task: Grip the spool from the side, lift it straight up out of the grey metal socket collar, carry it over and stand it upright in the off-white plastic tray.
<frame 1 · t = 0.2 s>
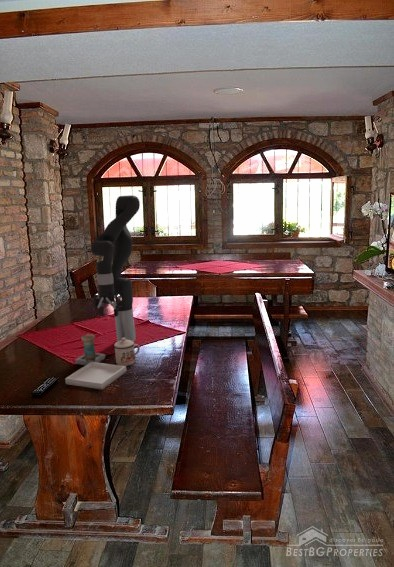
hand: (108, 315, 217), 18 cm above the table, tool pointing down, fingers open, 8 cm apart
socket: (90, 360, 209), on the table
teacup with lid: (128, 362, 206), on the table
spool: (89, 348, 208), in the socket
tray: (96, 377, 190), on the table
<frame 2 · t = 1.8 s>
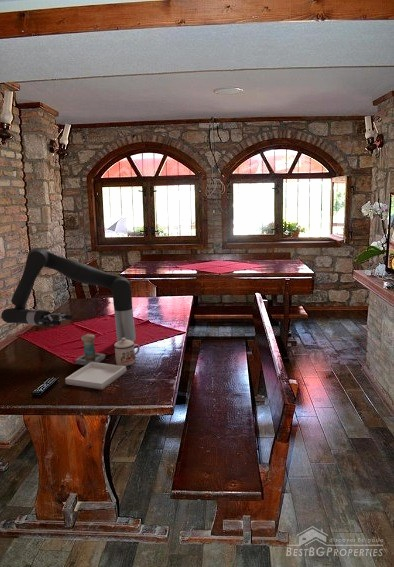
hand: (66, 320, 209), 19 cm above the table, tool horizontal, fingers open, 8 cm apart
nothing on the table moved.
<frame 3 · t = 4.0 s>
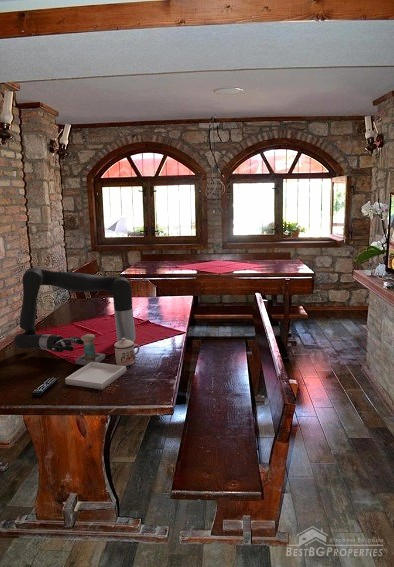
hand: (78, 345, 210), 7 cm above the table, tool horizontal, fingers open, 8 cm apart
nothing on the table moved.
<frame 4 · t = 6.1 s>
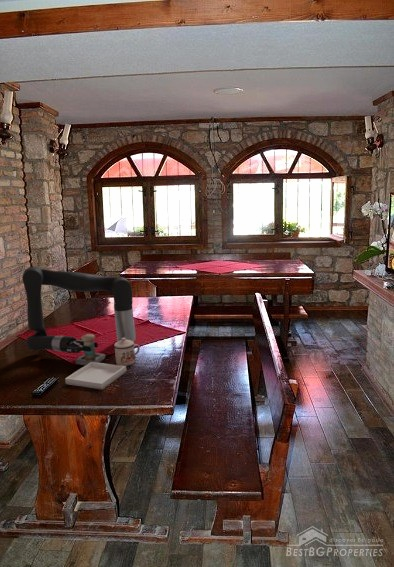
hand: (93, 347, 207), 7 cm above the table, tool horizontal, fingers closed on spool, 4 cm apart
spool: (89, 348, 208), in the socket, touching gripper
everything else where it was.
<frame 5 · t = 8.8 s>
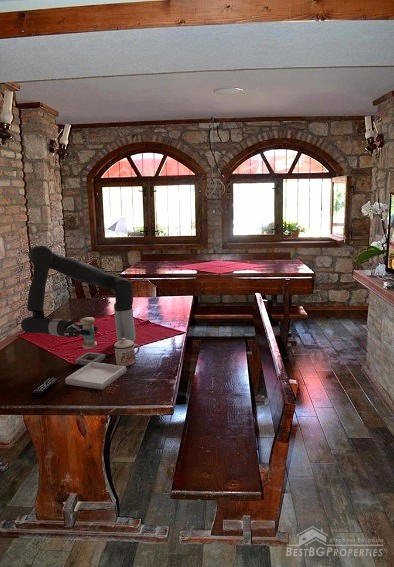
hand: (93, 331, 191), 19 cm above the table, tool horizontal, fingers closed on spool, 4 cm apart
spool: (88, 332, 193), point 18 cm above the table, touching gripper
everything else where it was.
when the fingers open (9 cm above the table, at t = 11.5 s): spool drops 2 cm, resting on tray.
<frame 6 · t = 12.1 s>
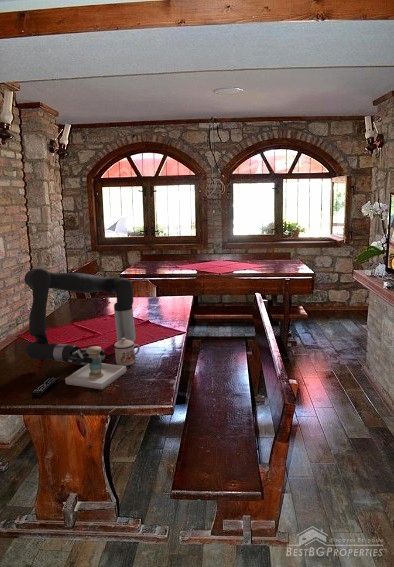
hand: (98, 356, 188), 10 cm above the table, tool horizontal, fingers open, 8 cm apart
spool: (95, 362, 189), in the tray, point 7 cm above the table
everything else where it was.
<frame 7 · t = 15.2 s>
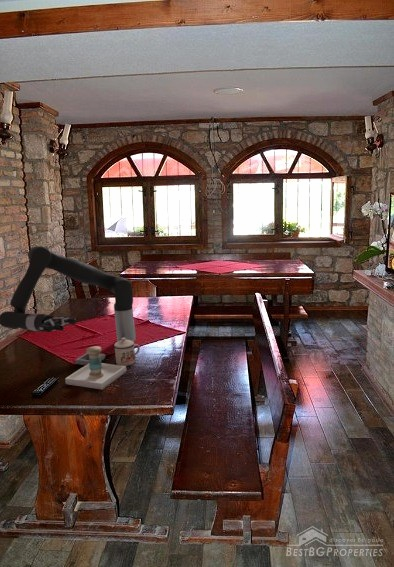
hand: (69, 324, 190), 23 cm above the table, tool horizontal, fingers open, 8 cm apart
nothing on the table moved.
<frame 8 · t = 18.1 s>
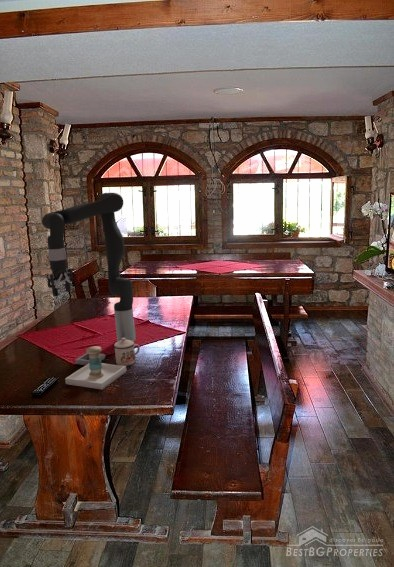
hand: (62, 293, 204), 32 cm above the table, tool pointing down, fingers open, 8 cm apart
nothing on the table moved.
at the end: spool inside the target area on the tray (0.1 cm from its centre), point 6.8 cm above the tray's base; spool tilted 0°; the gripper is holding nothing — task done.
